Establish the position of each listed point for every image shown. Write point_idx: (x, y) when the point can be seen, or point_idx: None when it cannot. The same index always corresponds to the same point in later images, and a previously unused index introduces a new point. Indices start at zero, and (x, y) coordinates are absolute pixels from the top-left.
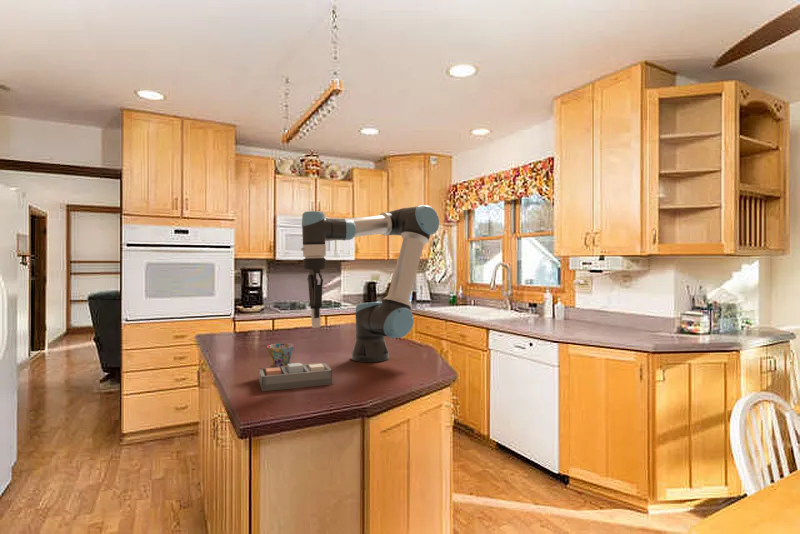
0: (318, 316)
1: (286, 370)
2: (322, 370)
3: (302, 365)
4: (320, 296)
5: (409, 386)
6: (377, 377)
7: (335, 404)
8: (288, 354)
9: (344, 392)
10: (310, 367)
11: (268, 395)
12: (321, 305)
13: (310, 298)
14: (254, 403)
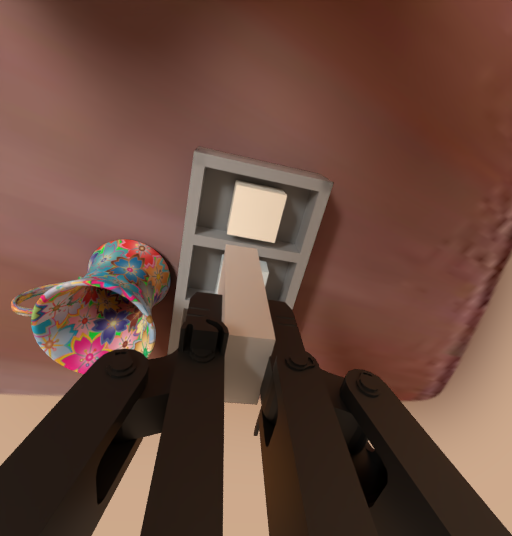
0: (289, 315)
1: (187, 286)
2: (313, 214)
3: (266, 273)
4: (485, 531)
5: None
6: None
7: (479, 247)
8: (143, 295)
9: (419, 183)
10: (262, 240)
11: (307, 341)
12: (384, 385)
13: (105, 508)
14: (342, 372)
